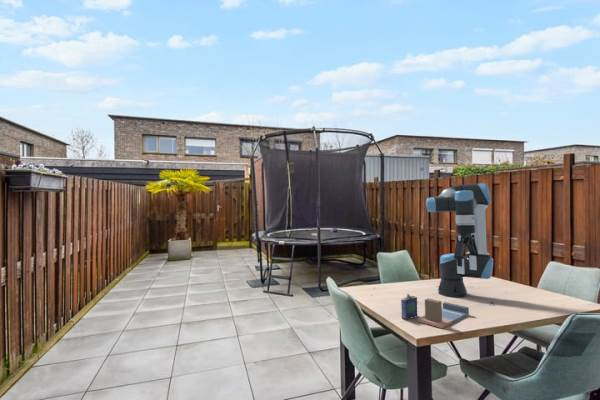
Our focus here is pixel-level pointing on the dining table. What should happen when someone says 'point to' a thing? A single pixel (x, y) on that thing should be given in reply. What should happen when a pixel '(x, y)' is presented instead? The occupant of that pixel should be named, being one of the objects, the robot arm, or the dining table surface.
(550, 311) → the dining table surface
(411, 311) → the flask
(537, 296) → the dining table surface
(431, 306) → the upright panel on base
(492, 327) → the dining table surface
